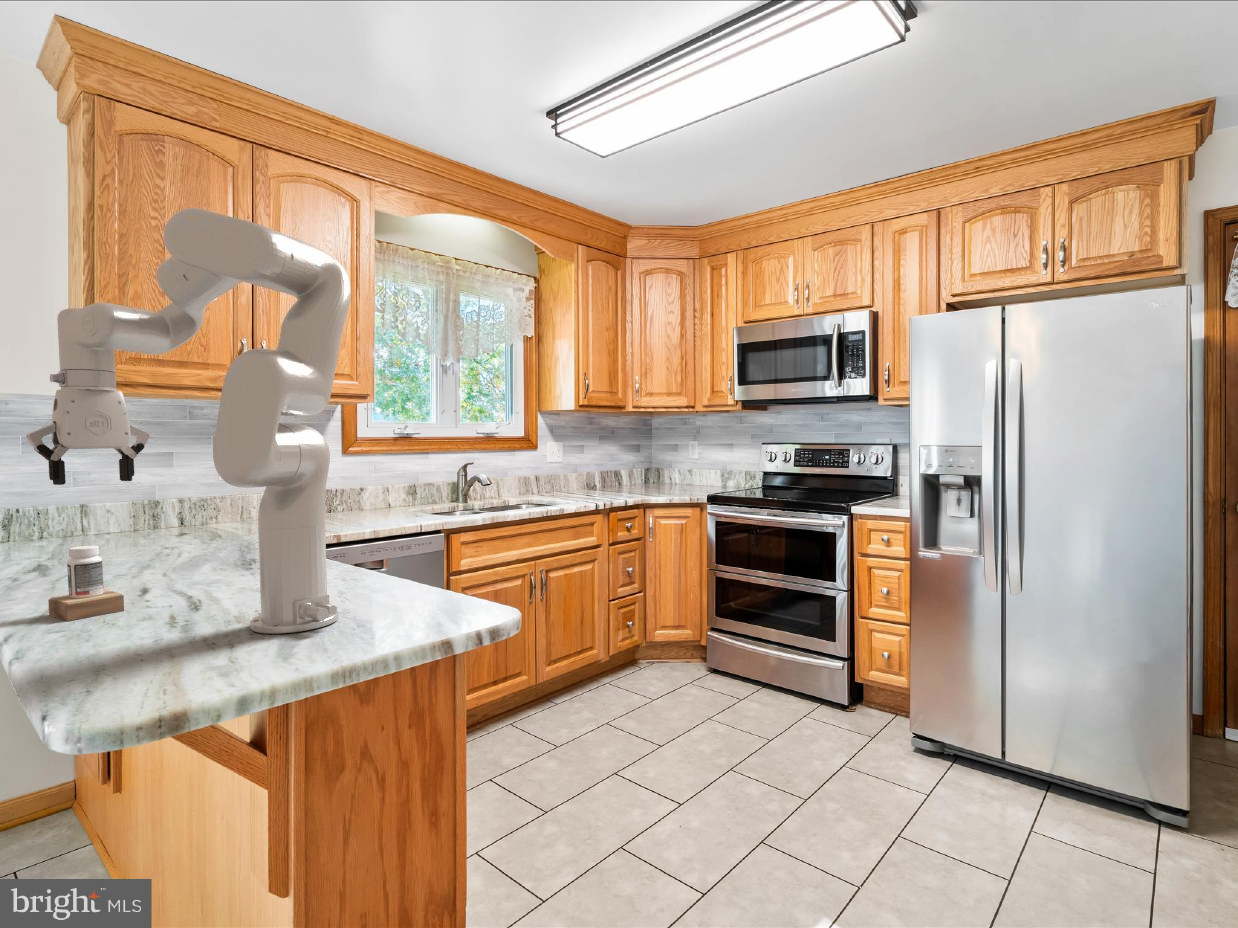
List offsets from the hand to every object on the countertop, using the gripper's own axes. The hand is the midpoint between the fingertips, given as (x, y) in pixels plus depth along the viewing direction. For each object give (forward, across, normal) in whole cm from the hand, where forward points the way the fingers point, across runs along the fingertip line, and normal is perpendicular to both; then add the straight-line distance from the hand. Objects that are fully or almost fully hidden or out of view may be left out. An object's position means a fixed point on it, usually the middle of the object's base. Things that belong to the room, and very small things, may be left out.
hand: (93, 482), depth 116 cm
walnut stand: (+22, -1, +1) cm, 22 cm away
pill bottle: (+20, -1, +1) cm, 20 cm away
